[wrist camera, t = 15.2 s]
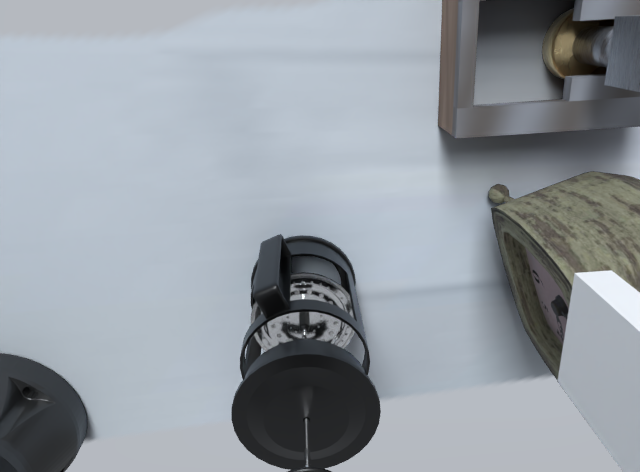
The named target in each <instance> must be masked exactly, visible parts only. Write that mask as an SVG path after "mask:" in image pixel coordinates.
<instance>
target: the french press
mask: <svg viewBox="0 0 640 472" xmlns="http://www.w3.org/2000/svg"><path fill="white" fill-rule="evenodd" d="M294 256H314V257H319V258H323V259H325V260H327V261H329V262H331V263H333V264H334V265H335V267H336V268H337V270H338V272H339V274H340V277H341V286H340V285H339V284H338V283H336V282H335V281H333V280H332V279H329V278H327V277H325V276H322V275H318V274H314V273H304V272H302V273H292V274H291V257H294ZM251 289H252V292H251V307H252V313H251V326H250V327H249V329H248V331H247V333H246V335H245V338H244V342H243V345H242V351H241V357H240V370H241V374H242V378H243V381H242V382H241V384H240V386H239V387H238V389H237V391H236V393H235V396H234V400H233V404H232V423H233V426H234V431H235V432H236V434H237V436H238V438H239V440H240V442H241V443H242V444H243V445H244V446H245V447H246V449H247V450H248V451H250V452H251V453H252V454H253V455H255V456H256V457H257V458H259V459H261V460H263V461H265V462H266V463H268V464H271V465H274V466H277V467H280V468H284V469H291V470H290V471H288V472H331V471H329V470H325V469H324V468H328V467H331V466H335V465H337V464H339V463H342V462H344V461H346V460H348V459H350V458H351V457H353V456H354V455H356V454H357V453H359V452H360V451H361V450H362V449H363V448H364V447H365V446H366V445H367V444H368V443H369V441H370V440H371V438H372V437H373V435H374V434H375V431H376V429H377V427H378V424H379V418H380V401H379V397H378V394H377V391H376V389H375V386H374V385H373V383H372V382H371V380H370V379H369V377H368V376H367V375H368V372H369V365H370V358H369V350H368V346H367V341H366V336H365V332H364V327H363V323H362V318H361V313H360V309H359V304H358V300H357V295H356V290H355V274H354V270H353V268H352V265H351V263H350V261H349V259H348V258H347V256H346V255H345V254H344V253H343V252H342V251H341V249H340V248H338V247H337V246H335V245H334V244H332V243H331V242H329V241H326V240H324V239H322V238H318V237H313V236H294V237H289V238H286V239H284V238H283V236H282V235H281V234H280V235H277V236H275V237H272V238H270V239H268V240H265V241H263V242H262V243H261V247H260V253H259V259H258V260H257V262H256V264H255V266H254V269H253V273H252V277H251ZM354 332H356V333H357V334H358V336H359V338H360V339H361V341H362V342H363V345H364V348H365V355H364V361H363V364H362V366H361V364H360V363H359V361H358V360H357V359H356V358H355V357H354V356H353V355H352V354H351V353H349V352H348V351H346V350H344V348H345V347H346V346H347V345H348V344H349V342H350V340H351V339H352V337H353V335H354ZM247 344H248V346H247ZM246 346H247V353H246V359H245V348H246ZM261 347H262V348H263V349H264V350H265V351H266V352H264V353H263V354H262V355H261Z"/></svg>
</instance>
